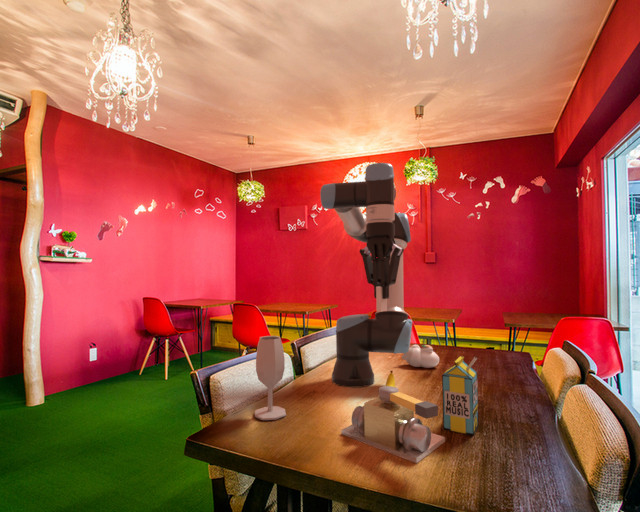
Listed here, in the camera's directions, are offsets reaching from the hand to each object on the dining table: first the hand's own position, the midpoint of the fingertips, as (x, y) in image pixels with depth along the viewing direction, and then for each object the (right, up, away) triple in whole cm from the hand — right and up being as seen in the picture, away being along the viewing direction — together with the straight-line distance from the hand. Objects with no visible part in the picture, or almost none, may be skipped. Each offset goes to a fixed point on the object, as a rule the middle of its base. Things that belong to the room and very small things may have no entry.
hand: (381, 310), depth 98 cm
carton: (+19, -28, -7) cm, 35 cm away
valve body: (0, -28, -12) cm, 30 cm away
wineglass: (-30, -29, +3) cm, 42 cm away
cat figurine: (+25, -31, +53) cm, 66 cm away
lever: (+2, -18, -18) cm, 26 cm away
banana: (+4, -29, +14) cm, 33 cm away
